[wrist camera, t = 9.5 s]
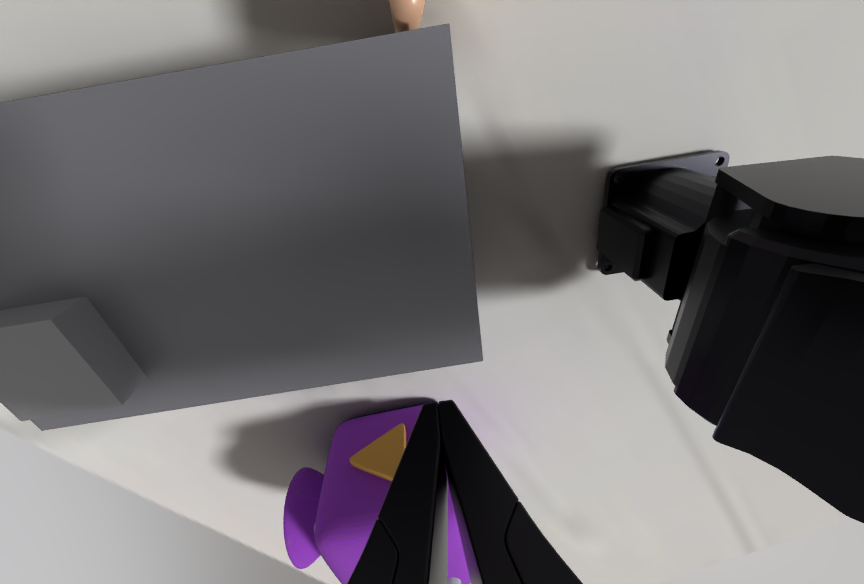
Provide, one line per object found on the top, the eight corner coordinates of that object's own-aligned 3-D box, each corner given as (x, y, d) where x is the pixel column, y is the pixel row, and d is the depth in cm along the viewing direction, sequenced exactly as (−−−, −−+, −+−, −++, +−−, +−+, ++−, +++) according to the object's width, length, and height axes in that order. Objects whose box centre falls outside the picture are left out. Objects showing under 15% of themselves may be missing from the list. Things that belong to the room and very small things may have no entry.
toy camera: (278, 432, 29) (223, 581, 20) (435, 375, 27) (449, 514, 18) (345, 500, 34) (325, 641, 25) (481, 457, 32) (509, 594, 23)
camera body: (430, 50, 16) (456, 13, 8) (459, 276, 22) (490, 385, 14) (-48, 133, 17) (-475, 178, 9) (106, 334, 23) (-61, 472, 15)
